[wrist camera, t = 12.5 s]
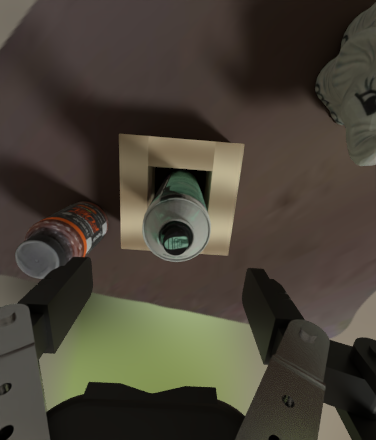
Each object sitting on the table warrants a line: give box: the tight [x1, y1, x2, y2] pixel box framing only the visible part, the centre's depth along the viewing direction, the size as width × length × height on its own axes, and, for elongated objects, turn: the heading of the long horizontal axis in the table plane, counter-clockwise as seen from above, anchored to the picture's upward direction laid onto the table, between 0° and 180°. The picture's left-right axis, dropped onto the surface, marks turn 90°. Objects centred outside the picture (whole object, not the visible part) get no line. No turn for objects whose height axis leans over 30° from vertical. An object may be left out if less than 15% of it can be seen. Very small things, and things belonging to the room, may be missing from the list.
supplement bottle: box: [15, 202, 108, 279], centre depth 29 cm, size 7×7×13 cm
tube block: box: [119, 134, 245, 255], centre depth 31 cm, size 14×14×7 cm
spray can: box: [142, 170, 211, 262], centre depth 24 cm, size 6×6×20 cm
